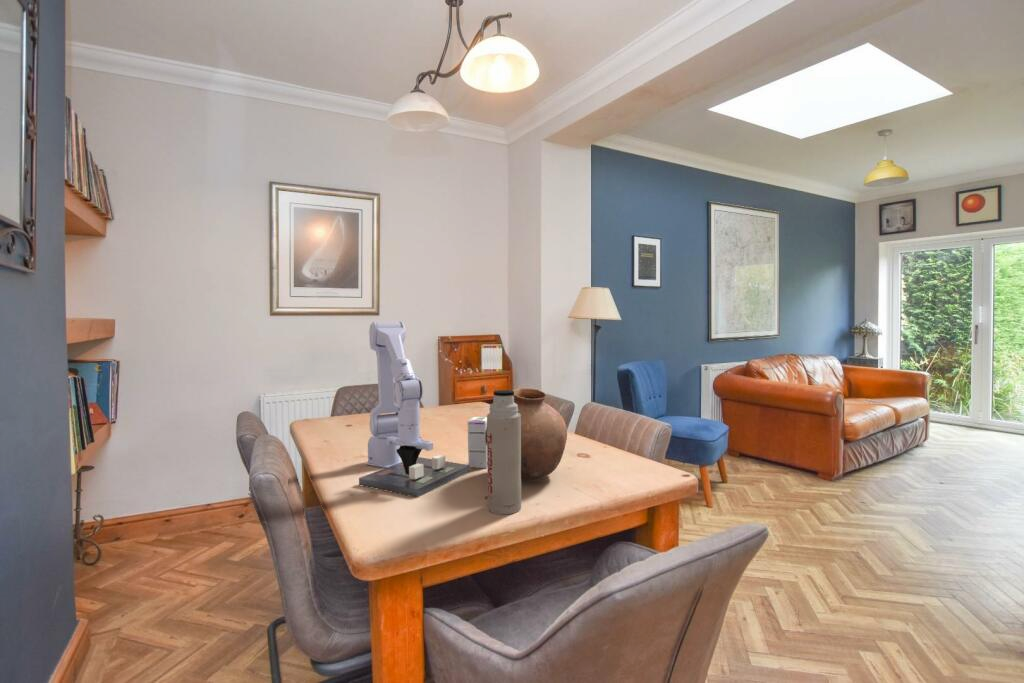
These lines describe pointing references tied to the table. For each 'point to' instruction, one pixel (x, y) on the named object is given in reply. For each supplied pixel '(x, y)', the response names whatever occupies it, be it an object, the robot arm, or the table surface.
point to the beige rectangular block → (416, 471)
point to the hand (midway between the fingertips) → (409, 473)
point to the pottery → (539, 434)
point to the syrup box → (477, 442)
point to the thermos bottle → (504, 454)
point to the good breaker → (438, 461)
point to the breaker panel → (401, 483)
